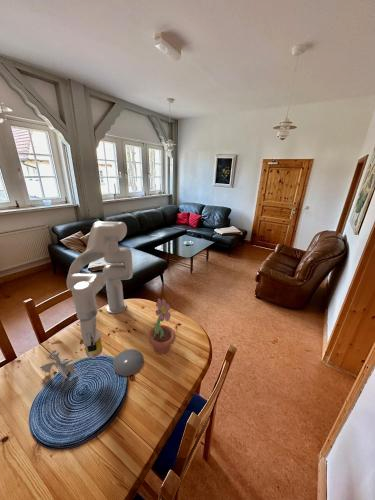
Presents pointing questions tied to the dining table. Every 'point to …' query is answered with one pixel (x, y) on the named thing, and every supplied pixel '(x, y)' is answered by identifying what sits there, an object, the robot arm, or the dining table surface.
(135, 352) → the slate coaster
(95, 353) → the supplement bottle
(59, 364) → the fairy figurine
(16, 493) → the dining table surface
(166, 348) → the decorative flower
